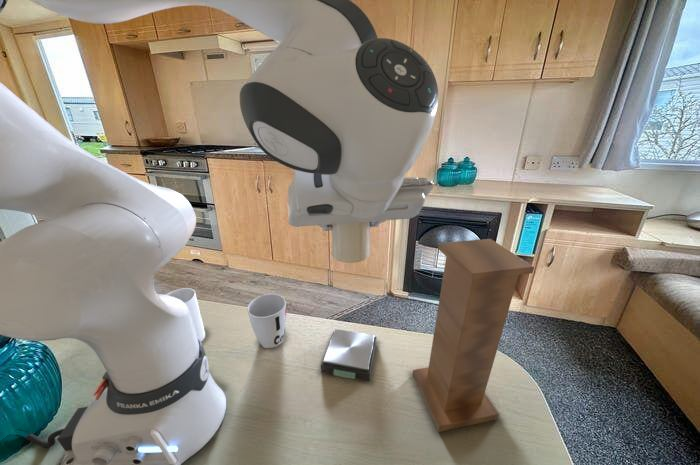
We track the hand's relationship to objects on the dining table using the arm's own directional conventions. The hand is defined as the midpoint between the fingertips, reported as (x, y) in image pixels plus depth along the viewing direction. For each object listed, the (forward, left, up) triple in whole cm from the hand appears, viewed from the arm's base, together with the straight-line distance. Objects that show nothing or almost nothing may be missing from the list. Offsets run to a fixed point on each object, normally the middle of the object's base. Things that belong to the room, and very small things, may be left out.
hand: (349, 225), depth 48 cm
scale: (0, -1, -31) cm, 31 cm away
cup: (-17, +8, -31) cm, 36 cm away
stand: (+17, -13, -31) cm, 37 cm away
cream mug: (0, +1, -5) cm, 5 cm away
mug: (-36, +10, -31) cm, 48 cm away
